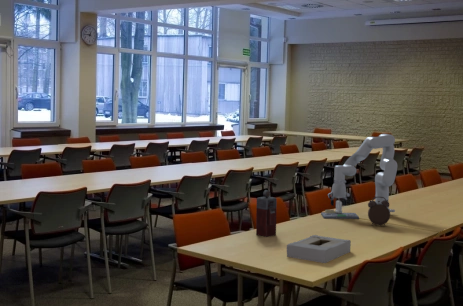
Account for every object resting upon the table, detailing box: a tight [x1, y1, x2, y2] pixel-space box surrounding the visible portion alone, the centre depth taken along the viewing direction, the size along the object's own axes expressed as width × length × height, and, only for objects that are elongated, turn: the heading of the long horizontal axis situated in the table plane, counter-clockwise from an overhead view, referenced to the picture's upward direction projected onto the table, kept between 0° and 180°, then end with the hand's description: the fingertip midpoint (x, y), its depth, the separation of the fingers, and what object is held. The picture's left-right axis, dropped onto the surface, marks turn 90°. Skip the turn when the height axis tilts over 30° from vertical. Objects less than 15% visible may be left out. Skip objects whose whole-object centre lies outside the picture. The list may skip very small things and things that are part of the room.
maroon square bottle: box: [255, 189, 278, 238], centre depth 383 cm, size 9×11×28 cm
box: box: [286, 234, 352, 264], centre depth 336 cm, size 23×8×32 cm
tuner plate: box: [320, 211, 360, 220], centre depth 450 cm, size 25×16×3 cm, turn 89°
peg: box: [324, 200, 343, 214], centre depth 453 cm, size 13×6×9 cm, turn 104°
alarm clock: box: [367, 196, 391, 227], centre depth 416 cm, size 15×7×20 cm, turn 84°
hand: (338, 205), depth 454 cm, fingers open, 9 cm apart
